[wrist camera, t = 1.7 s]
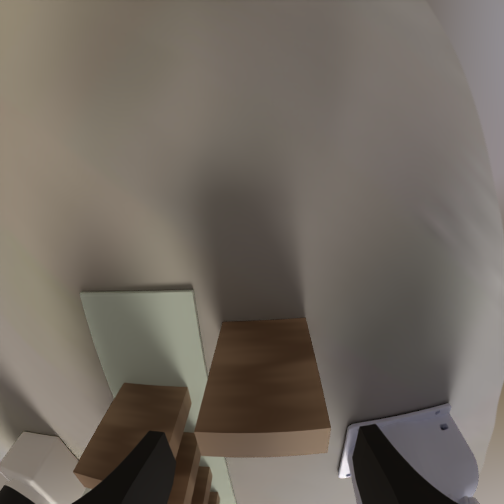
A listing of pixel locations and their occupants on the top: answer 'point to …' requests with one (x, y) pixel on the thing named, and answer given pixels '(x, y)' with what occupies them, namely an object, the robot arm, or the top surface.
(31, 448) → the medicine bottle
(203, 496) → the domino
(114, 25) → the top surface
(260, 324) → the end domino
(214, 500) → the domino
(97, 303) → the domino mat
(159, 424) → the domino
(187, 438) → the domino
